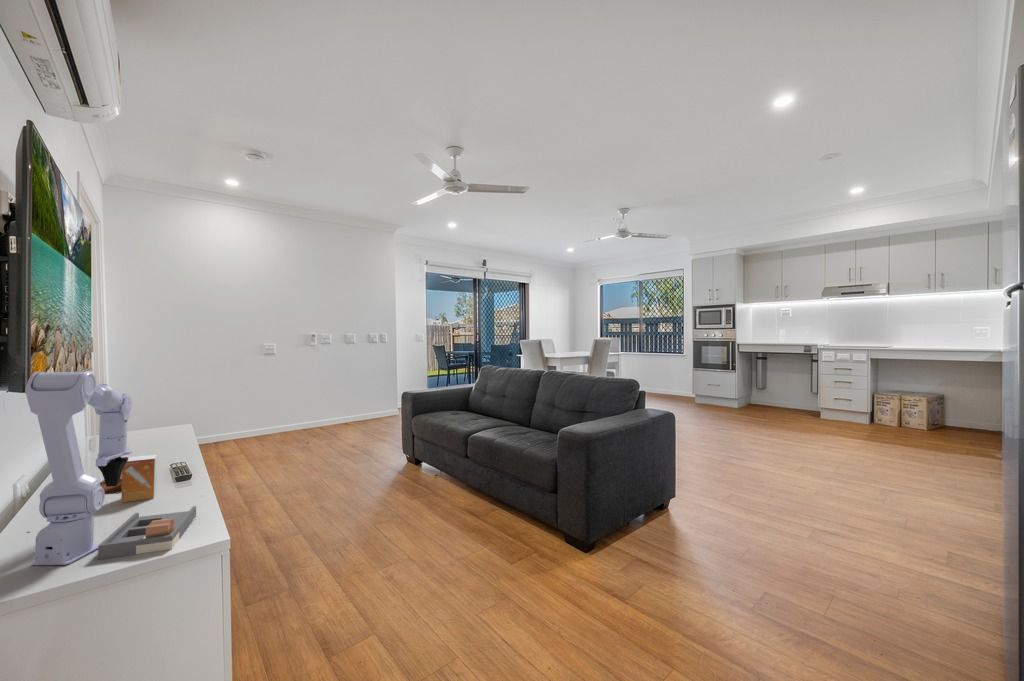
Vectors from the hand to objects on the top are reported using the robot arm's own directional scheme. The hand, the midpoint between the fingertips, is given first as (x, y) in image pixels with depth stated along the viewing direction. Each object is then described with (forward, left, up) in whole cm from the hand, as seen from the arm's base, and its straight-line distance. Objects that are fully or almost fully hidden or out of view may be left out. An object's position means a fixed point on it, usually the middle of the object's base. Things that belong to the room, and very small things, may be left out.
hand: (112, 485), depth 121 cm
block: (-14, -23, -8) cm, 28 cm away
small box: (+20, +8, -11) cm, 24 cm away
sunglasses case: (+32, +25, -11) cm, 42 cm away
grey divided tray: (-9, -17, -10) cm, 22 cm away
